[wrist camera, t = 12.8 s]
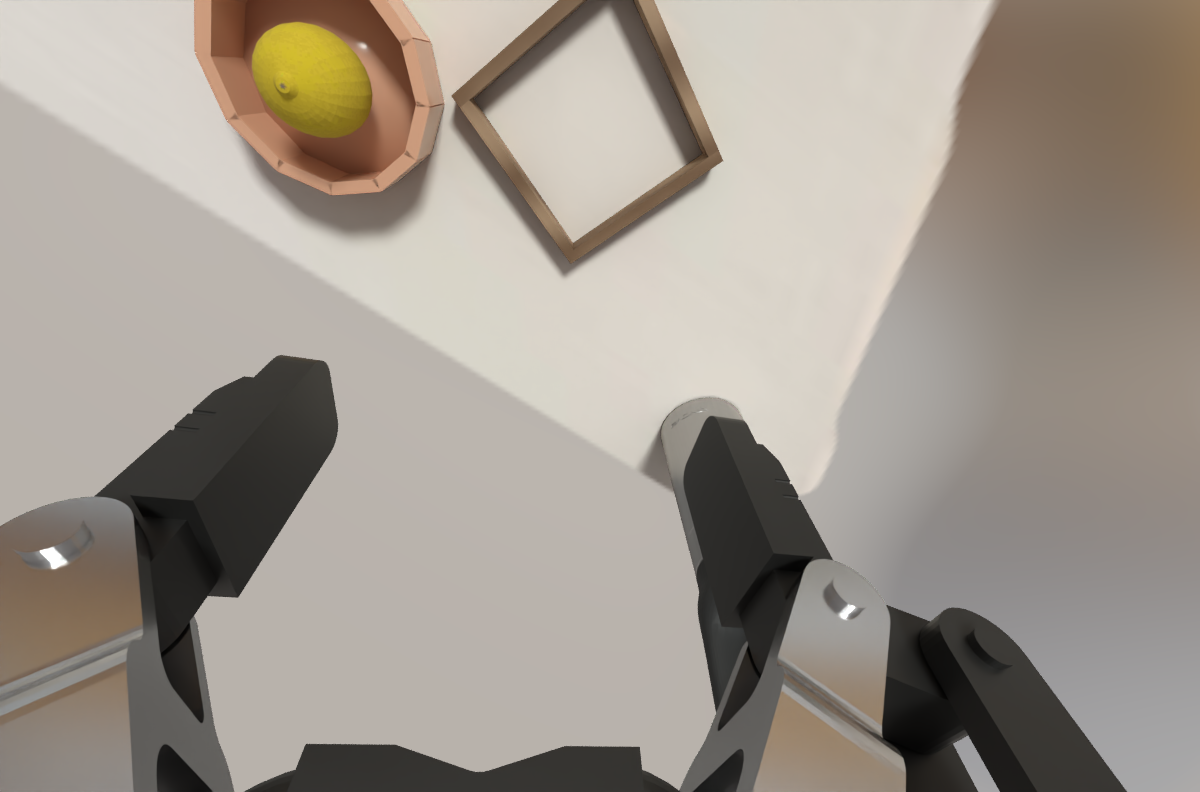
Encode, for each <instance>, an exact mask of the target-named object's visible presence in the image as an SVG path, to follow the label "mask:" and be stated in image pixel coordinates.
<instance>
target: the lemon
mask: <svg viewBox="0 0 1200 792" xmlns="http://www.w3.org/2000/svg"><path fill="white" fill-rule="evenodd" d="M252 71H253V76H254V81H255V83H256V86H257V88H258V90H259V93H260V94H261V96H262V98H263V99H264V101H265V102H266V104H267V105H268V107H269V108H270V109H271V110H272V111H273V112H274V113H275V114H276V115H277V116H278V117H279V118H280V119H282V120H283V121H284V122H285V123H287V124H288V125H289V126H291V127H293V128H295V129H297V130H299V131H301V132H303V133H306V134H309V135H313V136H317V137H321V138H338V137H342V136H345V135H349V134H351V133H353V132H354V131H356V130H357V129H358V128H360V127H361V126H362V125H363V123H364V122H365V121H366V119H367V118H368V116H369V113H370V110H371V106H372V94H373V93H372V88H371V82H370V79H369V76H368V74H367V71H366V69H365V67H364V65H363V64H362V62H361V60H360V59H359V57H358V56H357V54H356V53H355V52H354V51H353V50H352V49H351V48H350V47H349V46H348V44H347V43H345V42H344V41H343V40H341V39H340V38H339V37H337V36H336V35H335V34H333V33H332V32H330V31H327V30H325V29H323V28H321V27H319V26H317V25H313V24H308V23H302V22H292V23H284V24H280V25H277V26H275V27H274V28H272V29H270V30H268V31H266V32H265V33H264V34H263V35H262V37H261V38H260V39H259V40H258V42H257V43H256V46H255V49H254V52H253V55H252Z"/></svg>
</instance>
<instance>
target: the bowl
mask: <svg viewBox="0 0 1200 792" xmlns="http://www.w3.org/2000/svg"><path fill="white" fill-rule="evenodd" d="M292 22H302V23H308V24H313V25H317V26H319V27H321V28H323V29H325V30H327V31H330V32H332V33H333V34H335V35H336V36H337V37H339V38H340V39H341V40H343V41H344V42H345V43H347V44H348V46H349V47H350V48H351V49H352V50H353V51H354V52H355V53H356V54H357V56H358V57H359V59H360V60H361V62H362V64H363V65H364V67H365V69H366V71H367V74H368V76H369V79H370V82H371V88H372V93H373V94H372V106H371V110H370V113H369V116H368V118H367V119H366V121H365V122H364V123H363V125H362V126H361V127H360V128H358V129H357V130H356V131H354V132H353V133H351V134H349V135H345V136H342V137H338V138H321V137H317V136H313V135H309V134H306V133H303V132H301V131H299V130H297V129H295V128H293V127H291V126H289V125H288V124H287V123H285V122H284V121H283V120H282V119H280V118H279V117H278V116H277V115H276V114H275V113H274V112H273V111H272V110H271V109H270V108H269V107H268V105H267V104H266V102H265V101H264V99H263V98H262V96H261V94H260V93H259V90H258V88H257V86H256V83H255V81H254V76H253V71H252V55H253V52H254V49H255V46H256V43H257V42H258V40H259V39H260V38H261V37H262V35H263V34H264V33H265V32H266V31H268V30H270V29H272V28H274V27H275V26H277V25H280V24H284V23H292ZM194 40H195V52H196V53H195V54H196V57H197V59H198V61H199V63H200V65H201V67H202V69H203V72H204V74H205V76H206V78H207V80H208V82H209V84H210V86H211V89H212V91H213V93H214V95H215V97H216V99H217V101H218V104H219V106H220V108H221V110H222V112H223V114H224V116H225V119H226V120H228V121H227V122H228V123H229V124H230V125H231V126H232V127H233V128H234V129H235V130H236V131H237V132H238V133H239V134H240V135H241V136H242V137H243V138H244V139H245V140H246V141H247V142H248V143H249V144H250V145H251V146H252V147H253V148H254V149H255V150H256V151H257V152H258V153H259V154H260V155H261V156H262V157H263V158H264V159H265V160H266V161H267V162H268V163H269V164H270V165H271V166H272V167H273V168H274V169H275V170H277V171H278V172H280V173H282V174H284V175H287V176H289V177H291V178H293V179H296V180H298V181H300V182H303V183H305V184H307V185H309V186H312V187H314V188H316V189H318V190H321V191H323V192H325V193H327V194H330V195H344V194H358V193H372V192H382V191H383V190H385V189H386V188H388V187H390V186H391V185H393V184H394V183H396V182H398V181H399V180H400V179H402V178H403V177H404V176H405V175H406V174H408V173H409V172H410V171H411V170H412V169H413V168H415V167H416V166H417V165H418V164H419V163H420V162H422V161H423V160H424V159H425V158H426V157H427V156H429V155H430V154H431V152H432V150H433V146H434V142H435V138H436V134H437V131H438V127H439V123H440V119H441V115H442V111H443V107H444V104H443V103H444V99H443V95H442V90H441V86H440V81H439V76H438V72H437V67H436V63H435V58H434V53H433V49H432V44H431V43H430V42H431V41H430V40H429V38H428V37H427V36H426V34H425V33H424V31H423V30H422V28H421V27H420V25H419V24H418V23H417V21H416V20H415V18H414V17H413V15H412V14H411V12H410V11H409V10H408V8H407V7H406V5H405V4H404V2H403V1H402V0H194Z"/></svg>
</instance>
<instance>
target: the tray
mask: <svg viewBox="0 0 1200 792" xmlns="http://www.w3.org/2000/svg"><path fill="white" fill-rule="evenodd" d="M586 1H587V0H559V1H557V2H556V3H555V4H554V5H553V6H552V7H551V8H550V9H548V10H547V11H546V12H545V13H544V14H543V15H542V16H541V17H539V18H538V19H537V20H536V21H535V22H534V23H533V24H532V25H530V26H529V27H528V28H527V29H526V30H525V31H524V32H523V33H521V34H520V35H519V36H518V37H517V38H516V39H515V40H514V41H512V42H511V43H510V44H509V45H508V46H507V47H506V48H505V49H503V50H502V51H501V52H500V53H499V54H498V55H497V56H496V57H494V58H493V59H492V60H491V61H490V62H489V63H488V64H487V65H485V66H484V67H483V68H482V69H481V70H480V71H479V72H478V73H476V74H475V75H474V76H473V77H472V78H471V79H470V80H469V81H467V82H466V83H465V84H464V85H463V86H462V87H461V88H460V89H458V90H457V91H456V92H455V93H454V94H453V95H452V97H453V99H454V100H455V102H456V103H457V104H458V106H459V107H460V109H461V110H462V111H463V113H464V114H465V116H466V117H467V118H468V120H469V121H470V123H471V124H472V125H473V127H474V128H475V130H476V131H477V133H478V134H479V135H480V137H481V138H482V140H483V141H484V142H485V144H486V145H487V147H488V148H489V149H490V151H491V152H492V154H493V155H494V156H495V158H496V159H497V161H498V162H499V163H500V165H501V166H502V168H503V169H504V171H505V172H506V173H507V175H508V176H509V178H510V179H511V180H512V182H513V183H514V185H515V186H516V187H517V189H518V190H519V192H520V193H521V194H522V196H523V197H524V199H525V200H526V201H527V203H528V204H529V206H530V207H531V208H532V210H533V211H534V213H535V214H536V216H537V217H538V218H539V220H540V221H541V223H542V224H543V225H544V227H545V228H546V230H547V231H548V232H549V234H550V235H551V237H552V238H553V239H554V241H555V242H556V244H557V245H558V246H559V248H560V249H561V251H562V252H563V254H564V255H565V256H566V258H567V259H568V261H569V262H570V263H573V262H574V261H576V260H577V259H579V258H580V257H582V256H583V255H585V254H586V253H588V252H589V251H590V250H592V249H593V248H595V247H596V246H598V245H599V244H601V243H602V242H604V241H605V240H607V239H608V238H610V237H611V236H613V235H614V234H616V233H617V232H619V231H620V230H622V229H623V228H624V227H626V226H627V225H629V224H630V223H632V222H633V221H635V220H636V219H638V218H639V217H641V216H642V215H644V214H645V213H647V212H648V211H650V210H651V209H653V208H654V207H656V206H657V205H658V204H660V203H661V202H663V201H664V200H666V199H667V198H669V197H670V196H672V195H673V194H675V193H676V192H678V191H679V190H681V189H682V188H684V187H685V186H687V185H688V184H690V183H691V182H692V181H694V180H695V179H697V178H698V177H700V176H701V175H703V174H704V173H706V172H707V171H709V170H710V169H712V168H713V167H715V166H716V165H718V164H719V163H721V162H722V161H723V159H722V157H721V155H720V152H719V150H718V148H717V145H716V143H715V141H714V138H713V136H712V134H711V132H710V129H709V127H708V125H707V122H706V120H705V118H704V115H703V113H702V111H701V108H700V106H699V104H698V101H697V99H696V97H695V94H694V92H693V90H692V87H691V85H690V83H689V80H688V78H687V76H686V74H685V71H684V69H683V67H682V64H681V62H680V60H679V57H678V55H677V53H676V50H675V48H674V46H673V43H672V41H671V39H670V36H669V34H668V32H667V29H666V27H665V25H664V22H663V20H662V18H661V15H660V13H659V11H658V9H657V6H656V4H655V2H654V0H633V1H634V3H635V5H636V8H637V10H638V12H639V14H640V16H641V19H642V21H643V23H644V25H645V28H646V30H647V32H648V34H649V36H650V39H651V41H652V43H653V45H654V47H655V50H656V52H657V54H658V56H659V58H660V61H661V63H662V65H663V67H664V70H665V72H666V74H667V76H668V78H669V81H670V83H671V85H672V87H673V89H674V92H675V94H676V96H677V98H678V100H679V103H680V105H681V107H682V109H683V112H684V114H685V116H686V118H687V120H688V123H689V125H690V127H691V129H692V131H693V134H694V136H695V138H696V140H697V142H698V145H699V147H700V149H701V151H702V154H701V155H700V156H699V157H697V158H696V159H694V160H693V161H691V162H690V163H688V164H687V165H686V166H684V167H683V168H681V169H680V170H678V171H677V172H675V173H674V174H673V175H671V176H670V177H668V178H667V179H665V180H664V181H662V182H661V183H660V184H658V185H657V186H655V187H654V188H652V189H651V190H649V191H648V192H647V193H645V194H644V195H642V196H641V197H639V198H638V199H636V200H635V201H633V202H632V203H631V204H629V205H628V206H626V207H625V208H623V209H622V210H620V211H619V212H618V213H616V214H615V215H613V216H612V217H610V218H609V219H607V220H606V221H605V222H603V223H602V224H600V225H599V226H597V227H596V228H594V229H593V230H592V231H590V232H589V233H587V234H586V235H584V236H583V237H581V238H580V239H579V240H577V241H576V242H574V243H573V242H572V241H571V240H570V238H569V237H568V235H567V234H566V232H565V231H564V229H563V228H562V226H561V225H560V224H559V222H558V221H557V219H556V218H555V216H554V215H553V213H552V212H551V210H550V209H549V208H548V206H547V205H546V203H545V202H544V200H543V199H542V197H541V196H540V194H539V193H538V192H537V190H536V189H535V187H534V186H533V184H532V183H531V181H530V180H529V178H528V177H527V176H526V174H525V173H524V171H523V170H522V168H521V167H520V165H519V164H518V162H517V161H516V160H515V158H514V157H513V155H512V154H511V152H510V151H509V149H508V148H507V146H506V145H505V144H504V142H503V141H502V139H501V138H500V136H499V135H498V133H497V132H496V130H495V129H494V128H493V126H492V125H491V123H490V122H489V120H488V119H487V117H486V116H485V114H484V113H483V112H482V110H481V109H480V107H479V106H478V104H477V103H476V101H475V100H474V98H475V97H476V96H478V95H479V94H480V93H481V92H482V91H483V90H484V89H486V88H487V87H488V86H489V85H490V84H491V83H492V82H494V81H495V80H496V79H497V78H498V77H499V76H500V75H502V74H503V73H504V72H505V71H506V70H507V69H509V68H510V67H511V66H512V65H513V64H514V63H515V62H517V61H518V60H519V59H520V58H521V57H522V56H523V55H525V54H526V53H527V52H528V51H529V50H530V49H532V48H533V47H534V46H535V45H536V44H537V43H538V42H540V41H541V40H542V39H543V38H544V37H545V36H546V35H548V34H549V33H550V32H551V31H552V30H553V29H555V28H556V27H557V26H558V25H559V24H560V23H561V22H563V21H564V20H565V19H566V18H567V17H568V16H569V15H571V14H572V13H573V12H574V11H575V10H576V9H578V8H579V7H580V6H581V5H582V4H583V3H584V2H586Z"/></svg>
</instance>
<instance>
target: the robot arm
mask: <svg viewBox="0 0 1200 792" xmlns="http://www.w3.org/2000/svg"><path fill="white" fill-rule="evenodd" d="M337 432H338V419H337V413H336V407H335V401H334V395H333V389H332V383H331V377H330V371H329V368H328V365H327V364H326V363H325V362H324V361H320V360H313V359H306V358H299V357H290V356H283V355H280V356H277V357H275V358H274V359H273V360H272V361H270V362H269V363H268V364H267V365H266V366H265V367H264V368H263V369H262V370H261V371H260V372H259V373H258V374H257V375H256V376H255V377H254V378H252V377H242V378H240V379H238V380H236V381H234V382H232V383H229V384H227V385H225V386H223V387H221V388H219V389H217V390H215V391H213V392H212V393H211V394H210V395H209V396H208V397H207V398H205V399H204V400H203V401H202V402H201V403H200V404H199V405H197V406H196V407H195V408H194V409H193V413H192V414H187V415H186V416H185V417H184V418H183V419H182V420H180V421H179V422H178V423H177V424H176V425H175V429H174V430H169V431H168V432H167V433H166V434H165V435H163V436H162V437H161V438H160V439H159V440H158V441H157V442H156V443H154V444H153V445H152V446H151V447H150V448H149V449H148V450H146V451H145V452H144V453H143V454H142V455H141V456H140V457H139V458H137V459H136V460H135V461H134V462H133V463H132V464H131V465H130V466H128V467H127V468H126V469H125V470H124V471H123V472H122V473H120V474H119V475H118V476H117V477H116V478H115V479H114V480H113V481H111V482H110V483H109V484H108V485H107V486H106V487H105V488H103V489H102V490H101V491H100V492H99V493H98V494H97V495H95V496H94V497H81V498H74V499H68V500H64V501H59V502H55V503H52V504H48V505H45V506H42V507H39V508H37V509H34V510H31V511H29V512H26V513H24V514H22V515H20V516H18V517H16V518H14V519H12V520H10V521H8V522H7V523H5V524H3V525H1V526H0V792H234V788H233V784H232V780H231V776H230V772H229V769H228V765H227V762H226V759H225V756H224V754H223V751H222V749H221V746H220V744H219V741H218V738H217V734H216V730H215V726H214V721H213V715H212V709H211V703H210V697H209V691H208V685H207V679H206V673H205V667H204V662H203V655H202V649H201V643H200V637H199V631H198V625H197V622H196V619H195V617H194V615H195V613H196V612H197V610H198V609H199V607H200V606H201V605H202V603H203V602H204V600H205V599H206V598H207V596H219V597H239V595H240V594H241V592H242V591H243V589H244V587H245V586H246V584H247V583H248V581H249V579H250V578H251V576H252V575H253V573H254V572H255V570H256V568H257V567H258V566H259V564H260V562H261V561H262V559H263V558H264V556H265V555H266V553H267V551H268V550H269V548H270V546H271V545H272V543H273V542H274V540H275V539H276V537H277V536H278V534H279V532H280V531H281V529H282V528H283V526H284V525H285V523H286V522H287V520H288V518H289V517H290V515H291V514H292V512H293V511H294V509H295V507H296V506H297V504H298V503H299V501H300V500H301V498H302V497H303V495H304V493H305V492H306V490H307V489H308V487H309V485H310V484H311V482H312V481H313V479H314V478H315V476H316V474H317V473H318V471H319V470H320V468H321V467H322V465H323V463H324V462H325V460H326V459H327V457H328V456H329V454H330V453H331V451H332V449H333V447H334V444H335V441H336V437H337ZM661 441H662V445H663V449H664V453H665V457H666V461H667V465H668V469H669V473H670V477H671V481H672V485H673V489H674V493H675V497H676V500H677V504H678V508H679V512H680V516H681V520H682V523H683V528H684V532H685V535H686V540H687V544H688V547H689V551H690V555H691V559H692V562H693V566H694V570H695V574H696V579H697V583H698V587H699V599H698V617H699V623H700V628H701V633H702V638H703V643H704V648H705V653H706V658H707V664H708V670H709V675H710V681H711V686H712V692H713V698H714V704H715V709H716V715H715V718H714V720H713V723H712V726H711V728H710V731H709V733H708V735H707V737H706V740H705V742H704V744H703V745H702V747H701V749H700V751H699V752H698V754H697V756H696V757H695V759H694V761H693V763H692V765H691V766H690V768H689V770H688V773H687V774H686V777H685V779H684V781H683V783H682V786H681V788H680V790H679V791H678V790H677V789H676V788H674V787H673V786H671V785H670V784H669V783H667V782H665V781H664V780H662V779H660V778H658V777H656V776H654V775H653V774H651V773H649V772H646V771H643V770H642V765H641V756H640V747H588V746H585V747H583V746H564V747H561V748H558V749H555V750H552V751H548V752H546V753H542V754H539V755H536V756H533V757H530V758H527V759H524V760H521V761H517V762H514V763H512V764H508V765H505V766H502V767H499V768H496V769H493V770H489V771H485V772H473V771H469V770H466V769H464V768H460V767H458V766H455V765H452V764H449V763H446V762H443V761H441V760H437V759H435V758H432V757H429V756H426V755H423V754H420V753H417V752H415V751H412V750H409V749H406V748H403V747H400V746H397V745H356V744H355V745H354V744H353V745H352V744H351V745H350V744H348V745H347V744H306V745H305V747H304V750H303V752H302V755H301V758H300V760H299V762H298V765H297V768H296V770H293V771H290V772H287V773H284V774H281V775H279V776H276V777H274V778H272V779H269V780H267V781H264V782H262V783H260V784H258V785H256V786H254V787H252V788H250V789H248V790H246V791H245V792H978V791H977V789H976V787H975V785H974V783H973V781H972V779H971V777H970V776H969V774H968V772H967V770H966V768H965V766H964V764H963V762H962V760H961V759H960V757H959V755H958V753H957V751H956V749H955V747H954V745H953V743H955V742H957V741H959V740H961V739H962V738H964V737H966V736H968V735H969V737H970V739H971V741H972V743H973V744H974V746H975V748H976V750H977V752H978V753H979V755H980V757H981V759H982V760H983V762H984V764H985V766H986V768H987V769H988V771H989V773H990V775H991V777H992V778H993V780H994V782H995V783H996V785H997V787H998V789H999V791H1000V792H1127V791H1126V790H1125V789H1124V787H1123V786H1122V785H1121V783H1120V782H1119V780H1118V779H1117V778H1116V776H1115V775H1114V774H1113V772H1112V771H1111V770H1110V768H1109V767H1108V766H1107V764H1106V763H1105V762H1104V760H1103V759H1102V757H1101V756H1100V755H1099V754H1098V752H1097V751H1096V749H1095V748H1094V747H1093V745H1092V744H1091V743H1090V742H1089V740H1088V739H1087V737H1086V736H1085V734H1084V733H1083V732H1082V730H1081V729H1080V728H1079V726H1078V725H1077V724H1076V722H1075V721H1074V720H1073V718H1072V717H1071V716H1070V714H1069V713H1068V712H1067V710H1066V709H1065V707H1064V706H1063V705H1062V703H1061V702H1060V701H1059V699H1058V698H1057V697H1056V695H1055V694H1054V693H1053V691H1052V690H1051V689H1050V687H1049V686H1048V685H1047V683H1046V682H1045V680H1044V679H1043V678H1042V676H1041V675H1040V674H1039V672H1038V671H1037V670H1036V668H1035V667H1034V666H1033V664H1032V663H1031V662H1030V660H1029V659H1028V657H1027V656H1026V655H1025V654H1024V652H1023V651H1022V650H1021V649H1020V647H1019V646H1018V645H1017V644H1016V643H1015V642H1014V641H1013V640H1012V639H1011V638H1010V637H1009V636H1008V635H1007V634H1006V633H1004V632H1003V631H1002V630H1001V629H1000V628H998V627H997V626H996V625H994V624H993V623H991V622H990V621H988V620H987V619H985V618H983V617H982V616H980V615H978V614H976V613H973V612H971V611H968V610H966V609H961V608H948V609H946V610H944V611H943V612H941V614H939V615H938V616H937V617H935V618H934V619H933V620H932V621H931V622H930V621H927V620H925V619H922V618H919V617H917V616H914V615H911V614H909V613H906V612H903V611H901V610H898V609H896V608H893V607H891V606H888V605H886V604H885V602H884V600H883V599H882V597H881V595H880V594H879V593H878V591H877V590H876V589H875V588H874V587H873V585H872V584H871V583H870V582H869V581H868V580H867V579H866V578H864V577H863V576H862V575H860V574H859V573H858V572H856V571H855V570H853V569H852V568H850V567H848V566H846V565H844V564H842V563H840V562H837V561H833V559H832V557H831V556H830V553H829V552H828V550H827V548H826V546H825V544H824V542H823V541H822V539H821V537H820V535H819V533H818V531H817V530H816V528H815V526H814V524H813V522H812V520H811V519H810V517H809V515H808V513H807V511H806V509H805V508H804V506H803V504H802V502H801V500H798V494H797V493H796V491H795V489H794V487H793V485H792V484H790V480H789V478H788V476H787V474H786V472H785V470H784V469H783V467H782V465H781V463H780V462H779V461H778V460H777V458H776V457H775V456H774V455H773V454H772V453H771V452H770V451H769V450H768V449H767V448H766V447H765V446H764V445H761V444H757V443H756V441H755V439H754V437H753V435H752V433H751V431H750V429H749V427H748V425H747V424H746V422H745V421H744V420H743V418H742V416H741V414H740V412H739V411H738V409H737V408H736V407H735V406H734V405H733V404H731V403H729V402H728V401H725V400H722V399H719V398H710V397H709V398H699V399H695V400H691V401H689V402H686V403H684V404H682V405H681V406H679V407H677V408H676V409H675V410H674V411H673V412H671V413H670V414H669V416H668V417H667V418H666V420H665V421H664V423H663V426H662V429H661Z"/></svg>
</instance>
